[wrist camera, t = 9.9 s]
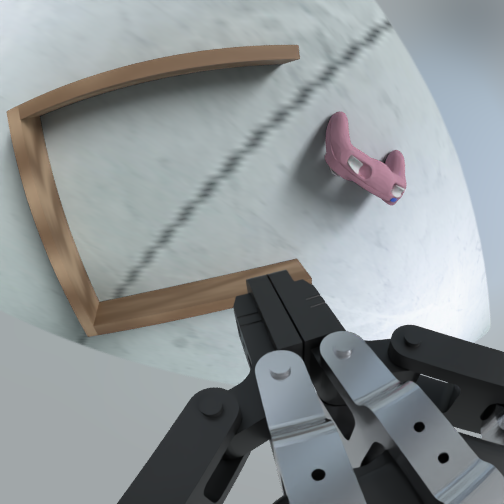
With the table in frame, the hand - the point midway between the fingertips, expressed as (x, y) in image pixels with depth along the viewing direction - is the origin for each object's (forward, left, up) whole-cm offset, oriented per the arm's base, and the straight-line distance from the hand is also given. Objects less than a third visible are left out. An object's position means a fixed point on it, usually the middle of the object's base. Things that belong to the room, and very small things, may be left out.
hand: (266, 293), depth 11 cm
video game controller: (0, +15, -18) cm, 23 cm away
